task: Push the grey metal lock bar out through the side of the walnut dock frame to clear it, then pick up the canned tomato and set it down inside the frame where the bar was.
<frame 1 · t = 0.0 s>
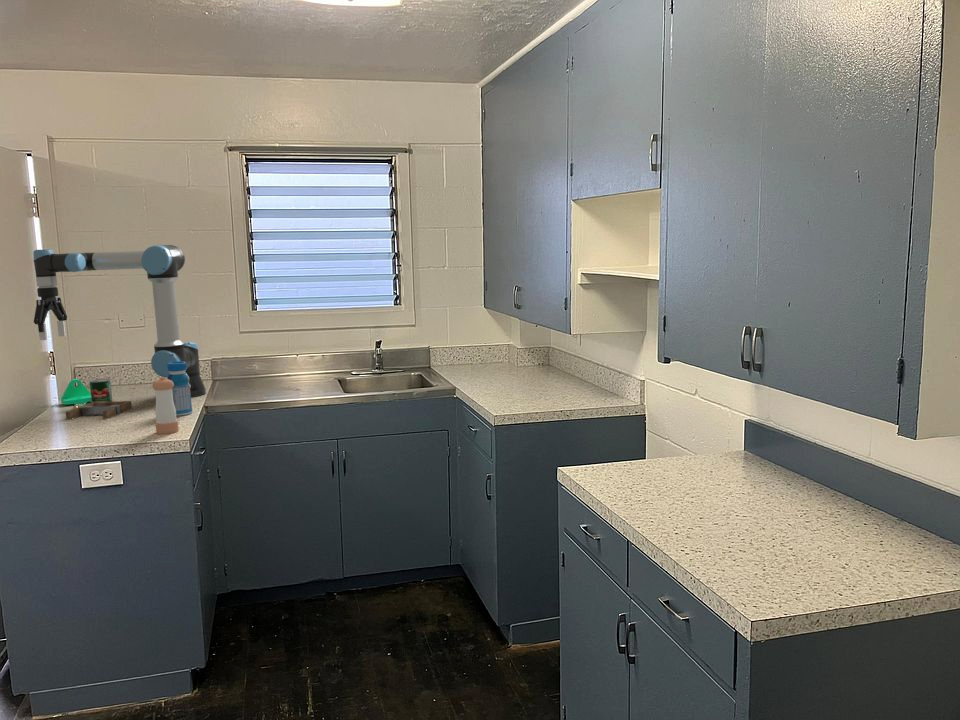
hand: (53, 338, 332), 28 cm above the worktop, tool pointing down, fingers open, 13 cm apart
camera mount: (79, 404, 336), on the worktop
pepper shaker: (167, 432, 277), on the worktop
canned tomato: (102, 406, 327), on the worktop
dock frame: (99, 414, 311), on the worktop
beverage bottle: (181, 414, 307), on the worktop
lock bar: (96, 409, 311), point 2 cm above the worktop, slide at 0.0 cm
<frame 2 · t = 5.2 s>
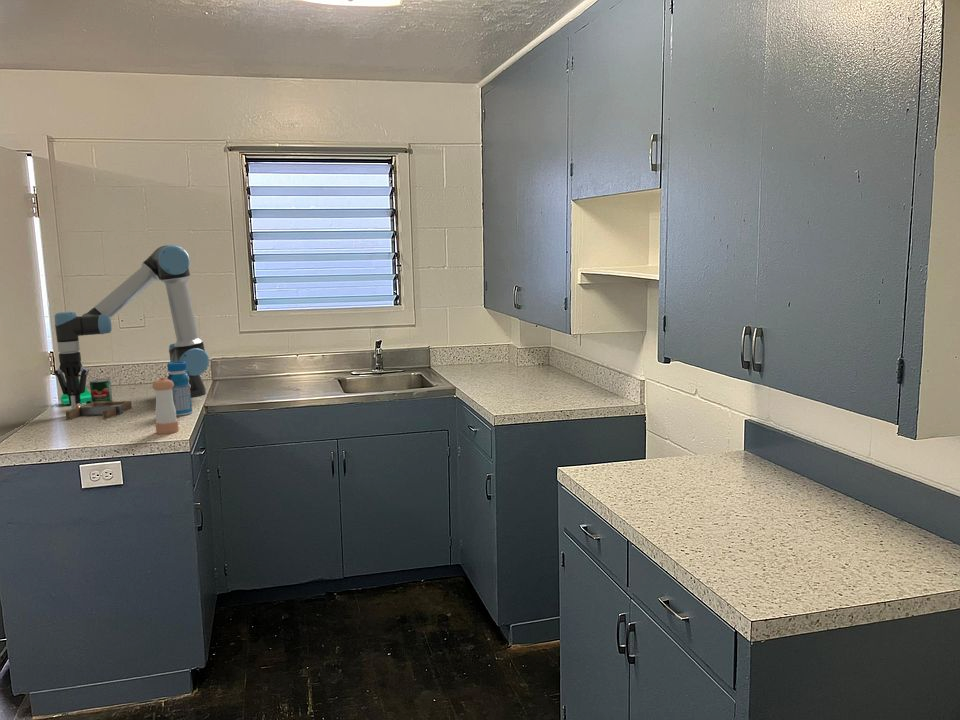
hand: (76, 411, 312), 1 cm above the worktop, tool pointing down, fingers closed
lock bar: (99, 409, 311), point 2 cm above the worktop, slide at 1.0 cm, touching gripper
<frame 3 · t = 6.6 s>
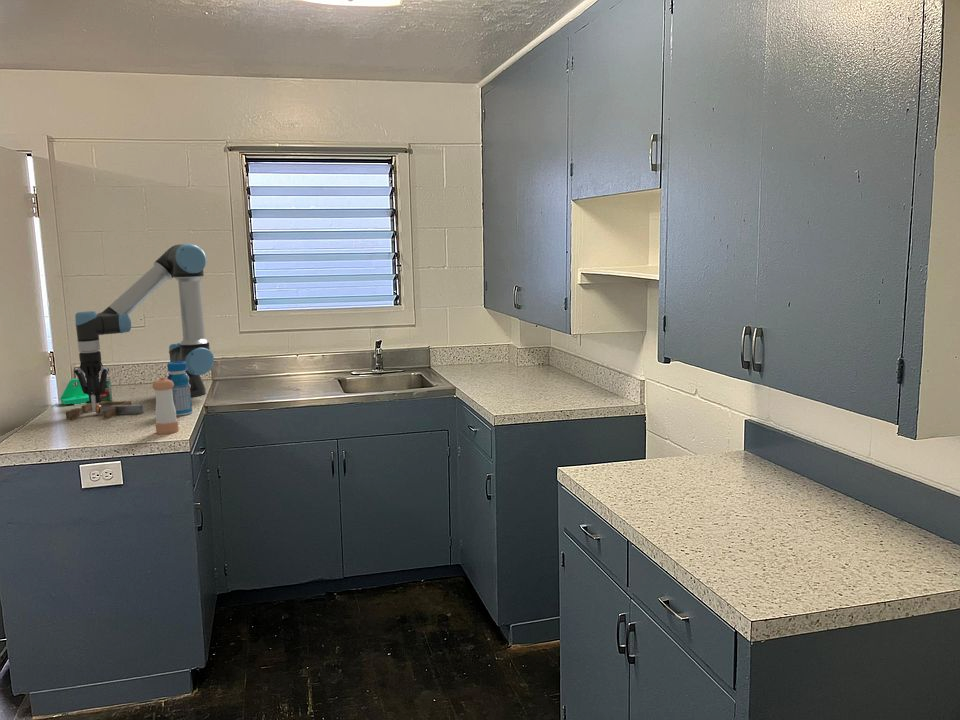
hand: (96, 411, 311), 1 cm above the worktop, tool pointing down, fingers closed
lock bar: (119, 409, 311), point 2 cm above the worktop, slide at 9.1 cm, touching gripper
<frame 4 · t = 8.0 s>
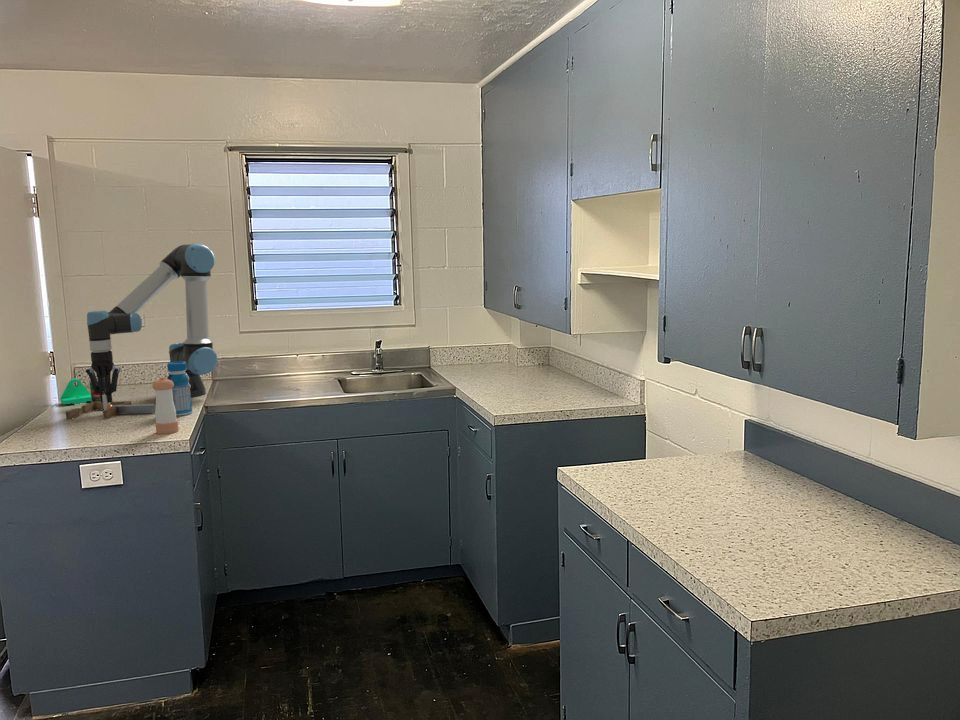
hand: (107, 410, 311), 1 cm above the worktop, tool pointing down, fingers closed
lock bar: (131, 408, 310), point 2 cm above the worktop, slide at 13.7 cm, touching gripper
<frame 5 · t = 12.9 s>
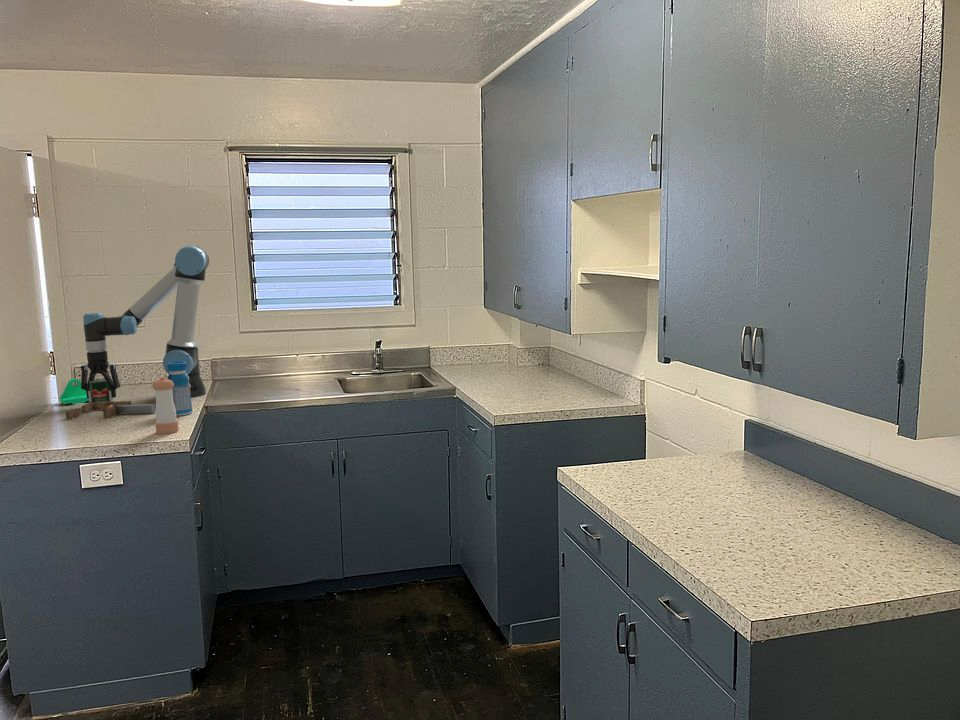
hand: (102, 405, 327), 0 cm above the worktop, tool pointing down, fingers closed on canned tomato, 8 cm apart
canned tomato: (102, 406, 327), on the worktop, touching gripper
lock bar: (131, 408, 310), point 2 cm above the worktop, slide at 13.8 cm
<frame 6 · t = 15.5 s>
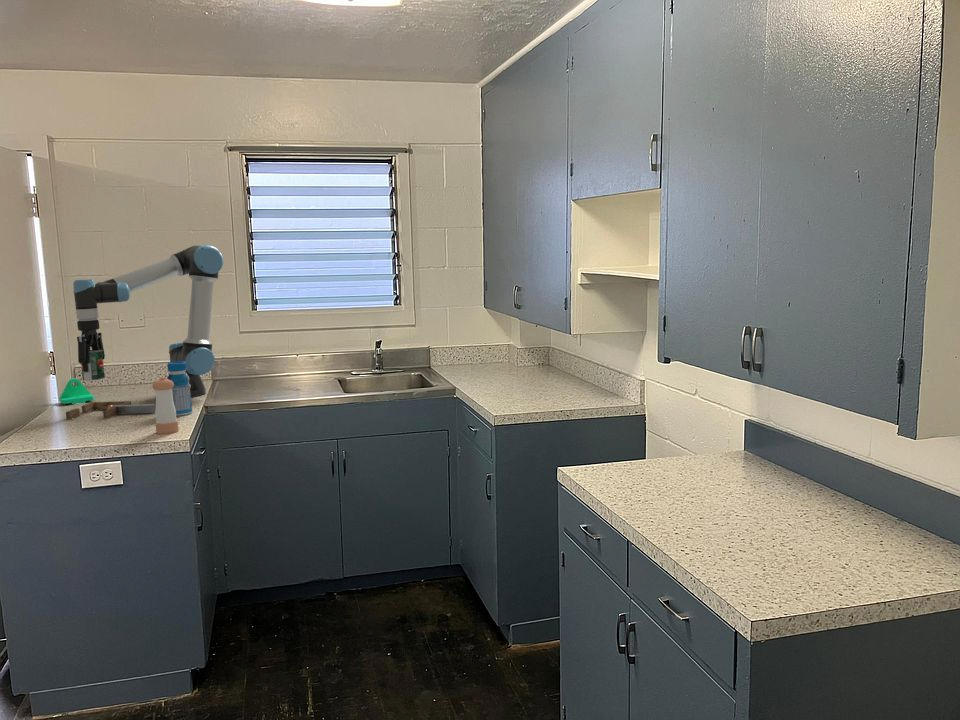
hand: (94, 378, 309), 14 cm above the worktop, tool pointing down, fingers closed on canned tomato, 8 cm apart
canned tomato: (94, 379, 309), point 14 cm above the worktop, touching gripper
when the fingers open (2 cm above the worktop, at t = 18.1 s): canned tomato drops 1 cm, on the worktop.
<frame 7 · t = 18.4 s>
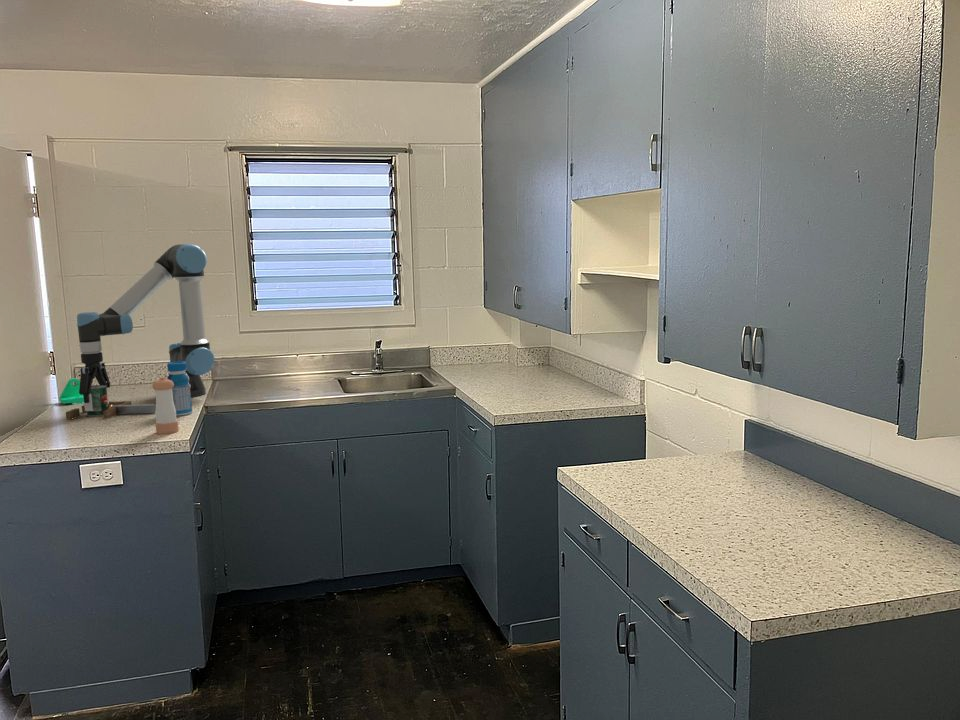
hand: (97, 407, 311), 3 cm above the worktop, tool pointing down, fingers open, 11 cm apart
canned tomato: (98, 414, 311), on the worktop
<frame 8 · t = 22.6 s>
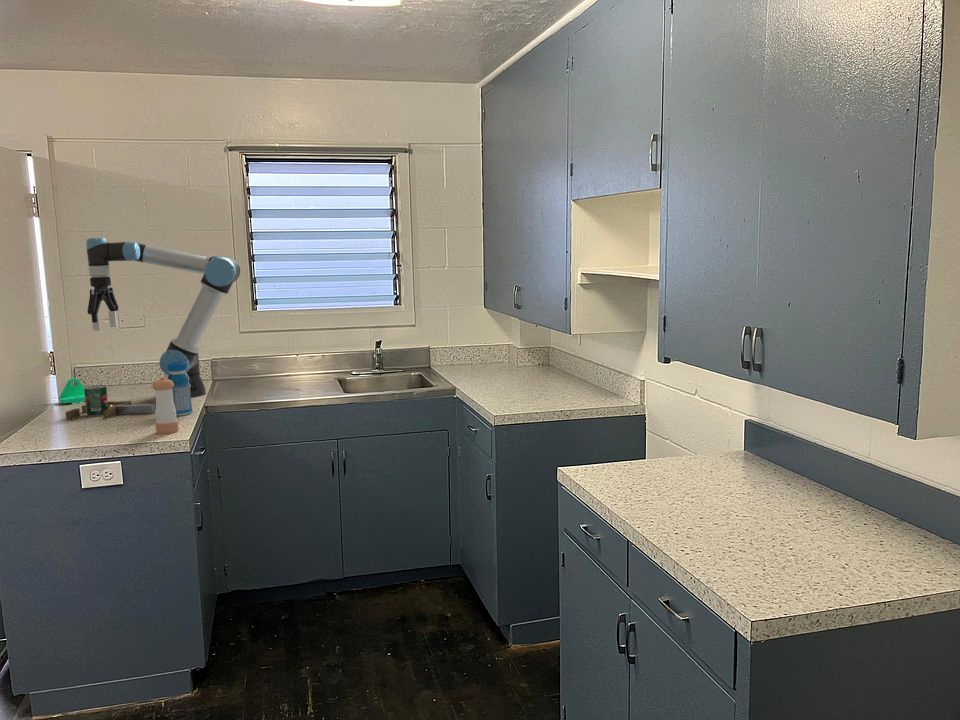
hand: (105, 328, 326), 32 cm above the worktop, tool pointing down, fingers open, 13 cm apart
at the end: lock bar slide at 13.8 cm; canned tomato inside the target area (0.1 cm from its centre), on the worktop; canned tomato tilted 0° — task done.
